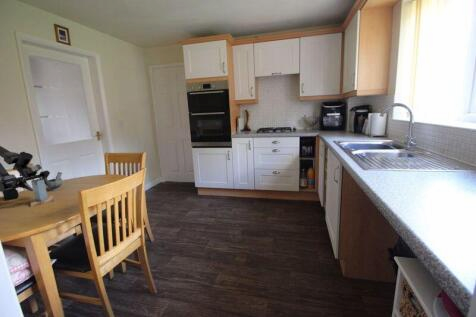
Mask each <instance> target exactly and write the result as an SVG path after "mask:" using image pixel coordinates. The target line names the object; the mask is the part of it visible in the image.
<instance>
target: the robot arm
mask: <svg viewBox="0 0 476 317" xmlns="http://www.w3.org/2000/svg"><path fill="white" fill-rule="evenodd" d="M0 157H1V158H3V162H5V163H6V164H7V165H10V166H11V165H13V167H12V170H13V171H17V173H18V174H19V176H18V177H16V175H15V174H13V173H11V174H10V173H9V172H8V170H6V168H5V166H4V165H3V164H2V163H1V162H0V192H1V193H2V196H3V201H10V200H14V199H19V196H20V194H19V190H18V188H21V189H23V190H28V191H31V192H33V188H32V186H30V184H29V183H28V181H33V180H37V179H43V180H44V183H45V186H47V187H48V186H49V183H48V180H49V179H48V178H49V175H50V174H51V172H50V171H49V170H47V169H46V170H43V171H41V169H43V167H42V166H41V164H39V163H38V164H35V165H33V166H29V165H30V163H31V162H32V160H33V157H34V156H33V154H31V153H29V152H25V151H20V152H19V153H18V152H13V151H9V150H8V149H6V148H5V147H3V146H1V145H0ZM38 171H40V172H39V174H38Z"/></svg>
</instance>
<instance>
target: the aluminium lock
mask: <svg viewBox="0 0 476 317" xmlns="http://www.w3.org/2000/svg"><path fill="white" fill-rule="evenodd" d="M30 183H31V188H32V189H33V191H32V192H33V194H34V195H33V196H34V199H35V200H36V201H44V200H47V199H48V192H47V188H46V185H45V183H44V180H43V179H39V178H36V179H33V180H30Z"/></svg>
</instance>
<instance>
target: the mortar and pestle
mask: <svg viewBox="0 0 476 317" xmlns="http://www.w3.org/2000/svg"><path fill="white" fill-rule="evenodd" d="M62 175H63V172H61V171H58V172H57V174H56V176H55V178H51V179H47V180H48V183H49V186H47V187H48V188H49V190H50V191H51V192H52V191H53V192H54V191H58V190H61V189H62V187H61V186H62V185H63V178H61V177H62Z"/></svg>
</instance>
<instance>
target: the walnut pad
mask: <svg viewBox="0 0 476 317" xmlns="http://www.w3.org/2000/svg"><path fill="white" fill-rule="evenodd" d="M47 196H48V195H47ZM53 202H55V199H54V197H53V195H49V196H48V199H47V200H44V201H36V200H35V198H34V199H30V200H29V203H30V207H34V206H35V207H36V206H41V205H44V204H48V203H53Z"/></svg>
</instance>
